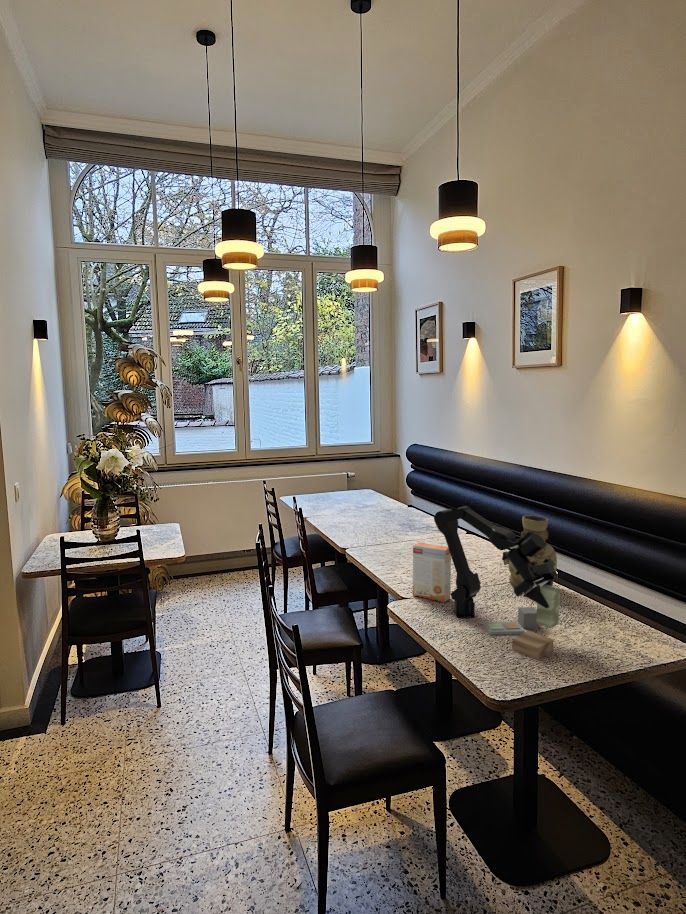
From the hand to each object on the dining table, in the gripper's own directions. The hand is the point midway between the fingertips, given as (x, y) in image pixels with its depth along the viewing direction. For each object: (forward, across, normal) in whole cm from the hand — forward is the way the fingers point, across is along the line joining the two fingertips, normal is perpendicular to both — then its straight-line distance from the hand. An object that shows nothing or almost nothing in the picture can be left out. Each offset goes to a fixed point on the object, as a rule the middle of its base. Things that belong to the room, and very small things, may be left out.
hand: (552, 605), depth 188 cm
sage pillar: (+4, 0, +6) cm, 7 cm away
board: (-2, -2, +21) cm, 21 cm away
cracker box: (-28, +4, +47) cm, 55 cm away
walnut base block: (+8, -8, +10) cm, 16 cm away
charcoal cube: (0, +8, +18) cm, 20 cm away
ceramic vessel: (-13, +42, +32) cm, 55 cm away
